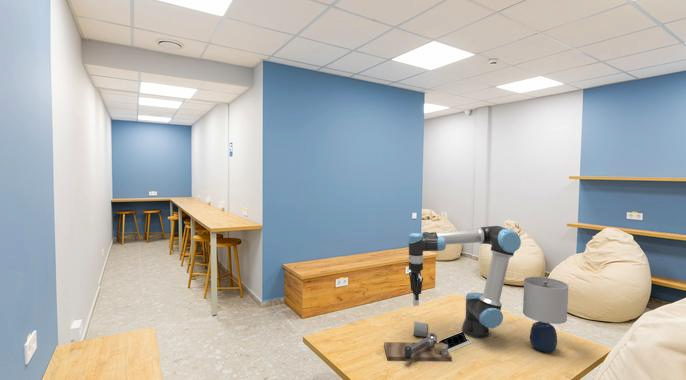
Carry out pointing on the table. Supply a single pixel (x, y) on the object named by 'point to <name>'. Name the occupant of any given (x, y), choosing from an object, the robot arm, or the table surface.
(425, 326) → the ceramic mug
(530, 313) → the lamp
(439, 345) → the tan wooden cylinder
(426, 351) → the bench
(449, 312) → the table surface
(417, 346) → the lever
